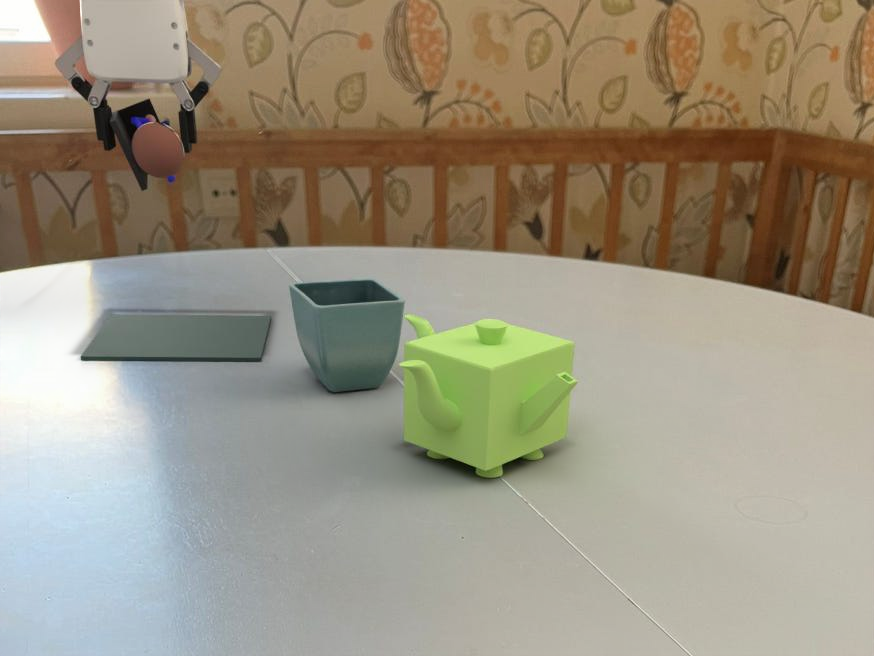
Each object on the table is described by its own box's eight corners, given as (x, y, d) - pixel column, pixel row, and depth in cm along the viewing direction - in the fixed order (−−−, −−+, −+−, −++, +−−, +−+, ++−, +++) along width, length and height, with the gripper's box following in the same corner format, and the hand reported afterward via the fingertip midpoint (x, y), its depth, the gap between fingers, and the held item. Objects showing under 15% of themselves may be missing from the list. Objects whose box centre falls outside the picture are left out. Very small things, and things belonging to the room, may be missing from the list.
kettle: (399, 489, 82) (399, 347, 76) (392, 425, 94) (391, 298, 88) (586, 487, 84) (600, 348, 78) (556, 425, 96) (566, 300, 90)
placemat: (81, 360, 106) (80, 356, 106) (111, 317, 120) (111, 313, 119) (261, 361, 108) (260, 357, 108) (271, 319, 121) (271, 315, 121)
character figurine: (184, 174, 119) (185, 199, 107) (117, 168, 117) (110, 192, 105) (182, 98, 115) (183, 114, 103) (113, 90, 113) (105, 106, 101)
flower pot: (406, 393, 101) (407, 298, 97) (319, 403, 98) (315, 306, 93) (374, 366, 108) (373, 276, 103) (292, 375, 105) (287, 282, 100)
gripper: (221, -45, 105) (235, 147, 115) (41, -54, 103) (71, 143, 113) (214, -46, 99) (230, 157, 109) (22, -56, 97) (55, 152, 106)
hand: (148, 148), depth 111 cm, fingers closed on character figurine, 7 cm apart
